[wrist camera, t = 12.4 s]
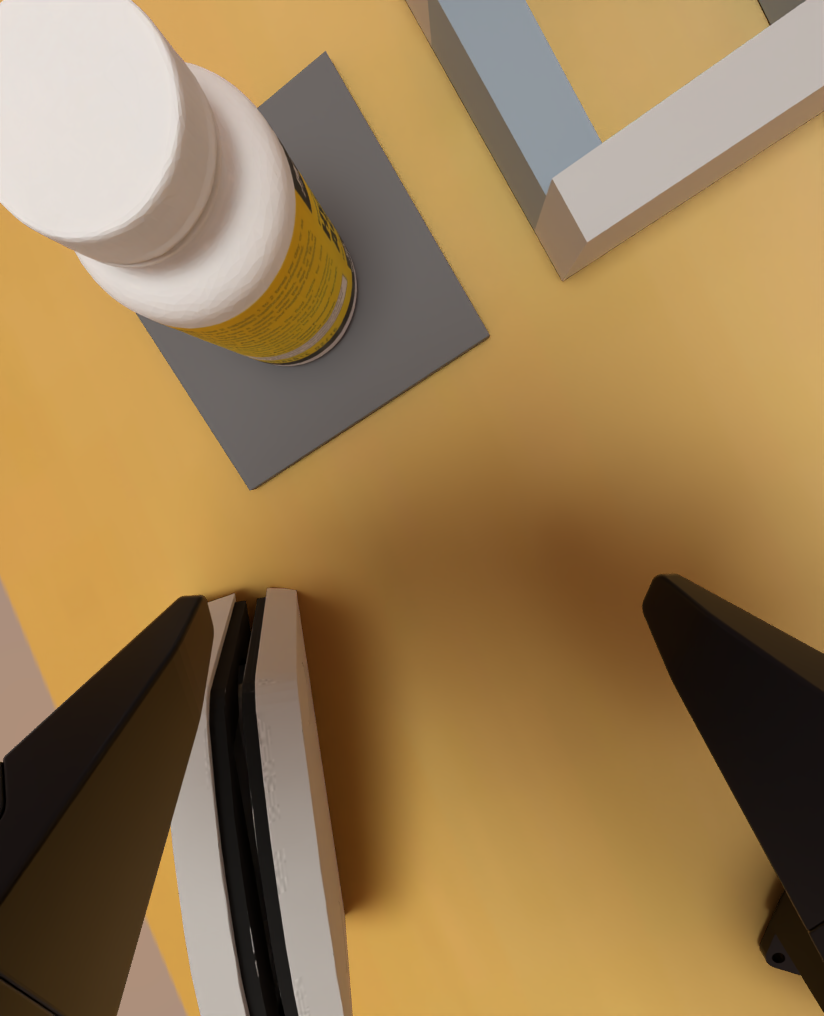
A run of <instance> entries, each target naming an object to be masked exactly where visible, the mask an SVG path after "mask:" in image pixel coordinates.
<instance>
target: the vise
mask: <svg viewBox="0 0 824 1016" xmlns="http://www.w3.org/2000/svg"><path fill="white" fill-rule="evenodd" d="M406 2H407V4H408V6H409V7H410V9H411V11H412V13H413V15H414V16H415V18H416V20H417V22H418V24H419V25H420V27H421V29H422V31H423V33H424V34H425V36H426V38H427V40H428V42H429V43H430V45H431V47H432V49H433V50H434V52H435V54H436V56H437V58H438V59H439V61H440V63H441V65H442V67H443V68H444V70H445V72H446V74H447V76H448V77H449V79H450V81H451V83H452V84H453V86H454V88H455V90H456V92H457V93H458V95H459V97H460V99H461V101H462V102H463V104H464V106H465V108H466V110H467V111H468V113H469V115H470V117H471V119H472V120H473V122H474V124H475V126H476V127H477V129H478V131H479V133H480V135H481V136H482V138H483V140H484V142H485V144H486V145H487V147H488V149H489V151H490V153H491V154H492V156H493V158H494V160H495V161H496V163H497V165H498V167H499V169H500V170H501V172H502V174H503V176H504V178H505V179H506V181H507V183H508V185H509V187H510V188H511V190H512V192H513V194H514V196H515V197H516V199H517V201H518V203H519V204H520V206H521V208H522V210H523V212H524V213H525V215H526V217H527V219H528V221H529V222H530V224H531V226H532V228H533V230H534V231H535V233H536V235H537V237H538V238H539V240H540V242H541V244H542V246H543V247H544V249H545V251H546V253H547V255H548V256H549V258H550V260H551V262H552V264H553V265H554V267H555V269H556V271H557V273H558V274H559V276H560V278H561V280H562V281H564V280H565V279H567V278H569V277H570V276H572V275H573V274H575V273H576V272H578V271H579V270H581V269H582V268H584V267H585V266H587V265H588V264H590V263H592V262H593V261H595V260H596V259H598V258H599V257H601V256H602V255H604V254H605V253H607V252H608V251H610V250H611V249H613V248H615V247H616V246H618V245H619V244H621V243H622V242H624V241H625V240H627V239H628V238H630V237H631V236H633V235H634V234H636V233H637V232H639V231H641V230H642V229H644V228H645V227H647V226H648V225H650V224H651V223H653V222H654V221H656V220H657V219H659V218H660V217H662V216H664V215H665V214H667V213H668V212H670V211H671V210H673V209H674V208H676V207H677V206H679V205H680V204H682V203H683V202H685V201H687V200H688V199H690V198H691V197H693V196H694V195H696V194H697V193H699V192H700V191H702V190H703V189H705V188H706V187H708V186H710V185H711V184H713V183H714V182H716V181H717V180H719V179H720V178H722V177H723V176H725V175H726V174H728V173H729V172H731V171H733V170H734V169H736V168H737V167H739V166H740V165H742V164H743V163H745V162H746V161H748V160H749V159H751V158H752V157H754V156H755V155H757V154H759V153H760V152H762V151H763V150H765V149H766V148H768V147H769V146H771V145H772V144H774V143H775V142H777V141H778V140H780V139H782V138H783V137H785V136H786V135H788V134H789V133H791V132H792V131H794V130H795V129H797V128H798V127H800V126H801V125H803V124H805V123H806V122H808V121H809V120H811V119H812V118H814V117H815V116H817V115H818V114H820V113H821V112H823V111H824V0H759V2H760V4H761V6H762V8H763V10H764V12H765V14H766V16H767V18H768V20H769V22H770V24H771V25H770V26H769V27H767V28H766V29H765V30H763V31H762V32H760V33H759V34H757V35H756V36H755V37H753V38H752V39H750V40H749V41H747V42H746V43H745V44H743V45H742V46H740V47H739V48H737V49H736V50H735V51H733V52H732V53H730V54H729V55H727V56H726V57H725V58H723V59H722V60H720V61H719V62H717V63H716V64H715V65H713V66H712V67H710V68H709V69H707V70H706V71H705V72H703V73H702V74H700V75H699V76H697V77H696V78H695V79H693V80H692V81H690V82H689V83H688V84H686V85H685V86H683V87H682V88H680V89H679V90H678V91H676V92H675V93H673V94H672V95H670V96H669V97H668V98H666V99H665V100H663V101H662V102H660V103H659V104H658V105H656V106H655V107H653V108H652V109H650V110H649V111H648V112H646V113H645V114H643V115H642V116H640V117H639V118H638V119H636V120H635V121H633V122H632V123H630V124H629V125H628V126H626V127H625V128H623V129H622V130H620V131H619V132H618V133H616V134H615V135H613V136H612V137H610V138H609V139H608V140H606V141H605V142H603V143H602V142H601V140H600V139H599V137H598V135H597V133H596V131H595V129H594V127H593V126H592V124H591V122H590V120H589V118H588V116H587V114H586V113H585V111H584V109H583V107H582V105H581V103H580V101H579V99H578V98H577V96H576V94H575V92H574V90H573V88H572V86H571V85H570V83H569V81H568V79H567V77H566V75H565V73H564V72H563V70H562V68H561V66H560V64H559V62H558V60H557V59H556V57H555V55H554V53H553V51H552V49H551V47H550V45H549V44H548V42H547V40H546V38H545V36H544V34H543V32H542V31H541V29H540V27H539V25H538V23H537V21H536V19H535V18H534V16H533V14H532V12H531V10H530V8H529V6H528V5H527V3H526V1H525V0H406Z"/></svg>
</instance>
